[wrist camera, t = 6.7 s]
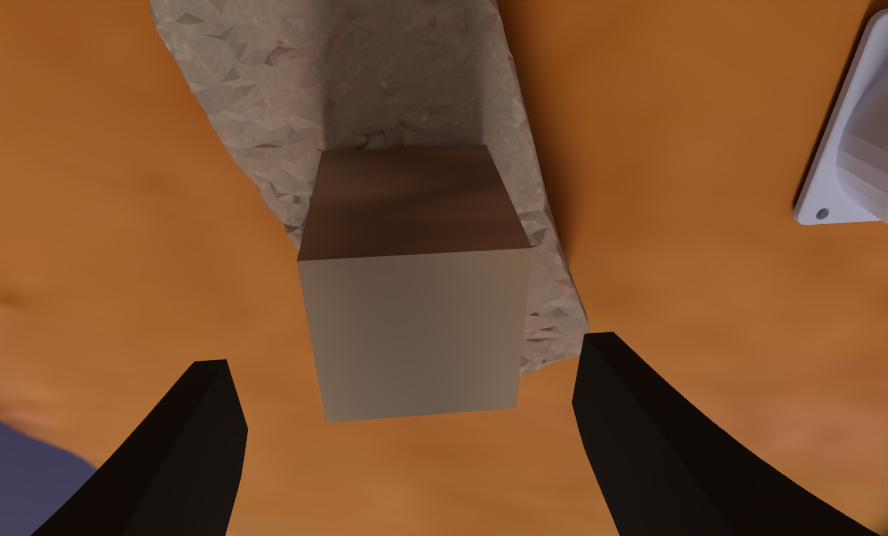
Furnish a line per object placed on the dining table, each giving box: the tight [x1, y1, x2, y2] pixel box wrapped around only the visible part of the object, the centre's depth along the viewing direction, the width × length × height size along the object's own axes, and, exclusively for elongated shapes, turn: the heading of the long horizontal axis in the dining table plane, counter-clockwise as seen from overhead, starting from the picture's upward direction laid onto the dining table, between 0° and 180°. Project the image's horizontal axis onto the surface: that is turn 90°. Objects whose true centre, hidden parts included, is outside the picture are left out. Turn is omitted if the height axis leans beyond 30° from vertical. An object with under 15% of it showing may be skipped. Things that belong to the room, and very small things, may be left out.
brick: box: [149, 0, 589, 378], centre depth 18 cm, size 17×8×5 cm, turn 20°
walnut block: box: [297, 145, 533, 423], centre depth 14 cm, size 4×4×6 cm
